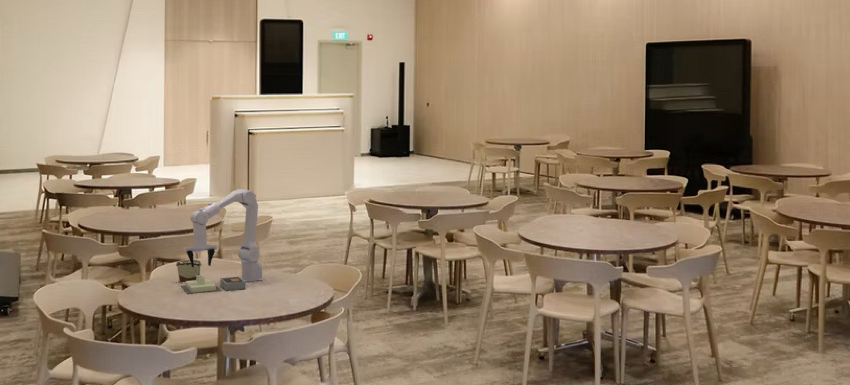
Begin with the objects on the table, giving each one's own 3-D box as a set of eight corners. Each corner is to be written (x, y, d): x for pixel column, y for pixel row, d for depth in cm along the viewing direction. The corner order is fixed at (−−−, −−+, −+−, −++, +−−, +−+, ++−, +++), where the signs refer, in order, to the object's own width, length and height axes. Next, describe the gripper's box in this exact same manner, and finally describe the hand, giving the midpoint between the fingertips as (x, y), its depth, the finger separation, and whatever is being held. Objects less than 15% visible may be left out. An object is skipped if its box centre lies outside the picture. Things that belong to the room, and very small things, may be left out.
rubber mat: (212, 283, 442) (212, 282, 442) (221, 290, 425) (221, 290, 425) (180, 286, 436) (180, 285, 436) (187, 294, 419) (187, 293, 419)
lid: (209, 283, 439) (209, 272, 439) (215, 290, 426) (215, 278, 425) (185, 285, 435) (185, 274, 434) (191, 292, 421) (191, 281, 421)
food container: (205, 280, 449) (205, 259, 448) (201, 282, 443) (200, 262, 442) (181, 279, 450) (180, 259, 449) (176, 282, 444) (175, 261, 443)
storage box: (239, 283, 440) (238, 276, 440) (245, 289, 429) (245, 281, 428) (220, 285, 437) (220, 278, 436) (226, 291, 425) (226, 283, 425)
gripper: (185, 239, 422) (186, 269, 424) (217, 237, 428) (218, 266, 430) (182, 237, 428) (183, 266, 430) (214, 234, 434) (215, 263, 436)
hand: (201, 266), depth 430 cm, fingers open, 7 cm apart
